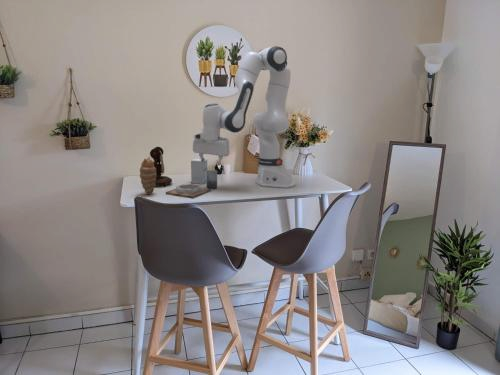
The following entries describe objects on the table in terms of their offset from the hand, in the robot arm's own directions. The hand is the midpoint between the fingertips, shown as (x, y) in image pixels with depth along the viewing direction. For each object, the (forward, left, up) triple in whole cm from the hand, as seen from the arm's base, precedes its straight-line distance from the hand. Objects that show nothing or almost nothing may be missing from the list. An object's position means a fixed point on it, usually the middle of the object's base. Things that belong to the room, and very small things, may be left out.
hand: (210, 163), depth 204 cm
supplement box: (+13, -9, -14) cm, 20 cm away
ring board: (+5, +14, -13) cm, 20 cm away
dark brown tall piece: (+29, +8, -14) cm, 33 cm away
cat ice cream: (+20, +26, -14) cm, 35 cm away
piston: (0, 0, -13) cm, 13 cm away
